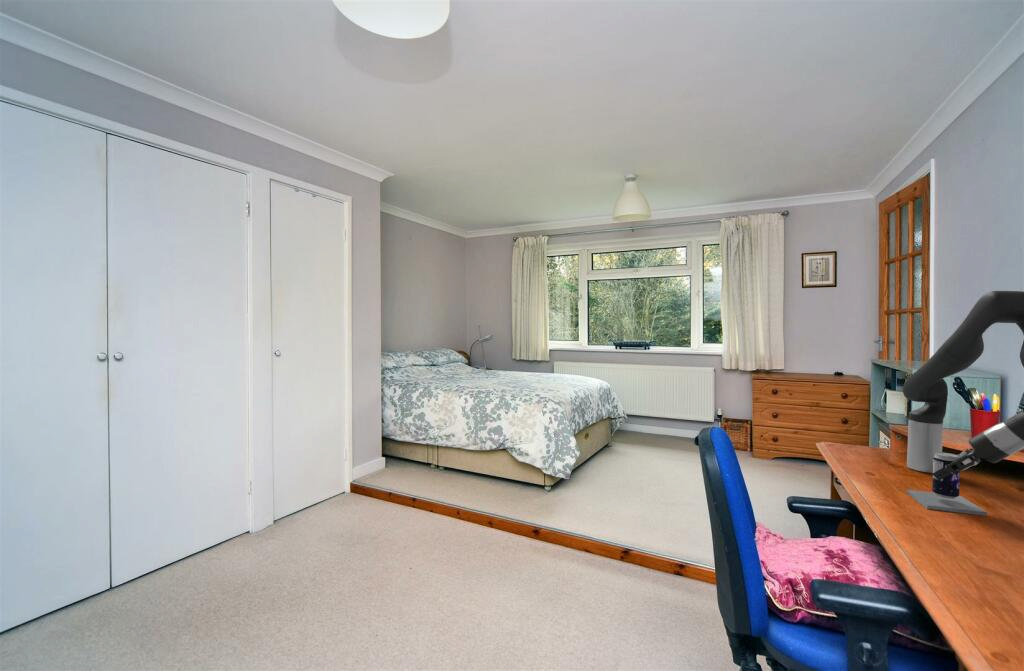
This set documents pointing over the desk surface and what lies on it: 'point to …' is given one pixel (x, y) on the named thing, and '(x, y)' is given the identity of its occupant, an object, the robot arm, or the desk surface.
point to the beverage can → (949, 484)
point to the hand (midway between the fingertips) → (937, 474)
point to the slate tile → (946, 503)
